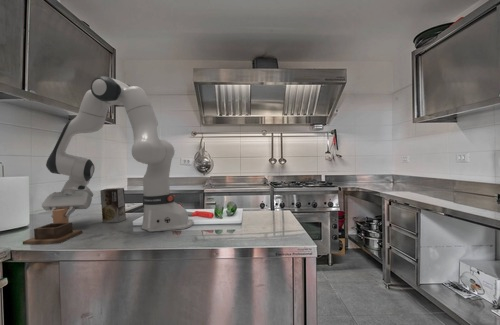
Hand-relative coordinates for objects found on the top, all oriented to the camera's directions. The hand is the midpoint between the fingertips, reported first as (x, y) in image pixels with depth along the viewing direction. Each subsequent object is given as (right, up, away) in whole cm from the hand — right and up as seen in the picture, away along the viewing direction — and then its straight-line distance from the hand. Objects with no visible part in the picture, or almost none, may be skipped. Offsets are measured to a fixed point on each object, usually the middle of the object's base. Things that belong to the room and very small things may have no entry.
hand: (59, 216), depth 122 cm
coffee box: (+15, -6, +18) cm, 24 cm away
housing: (+5, -7, -10) cm, 13 cm away
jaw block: (0, -6, +1) cm, 6 cm away
